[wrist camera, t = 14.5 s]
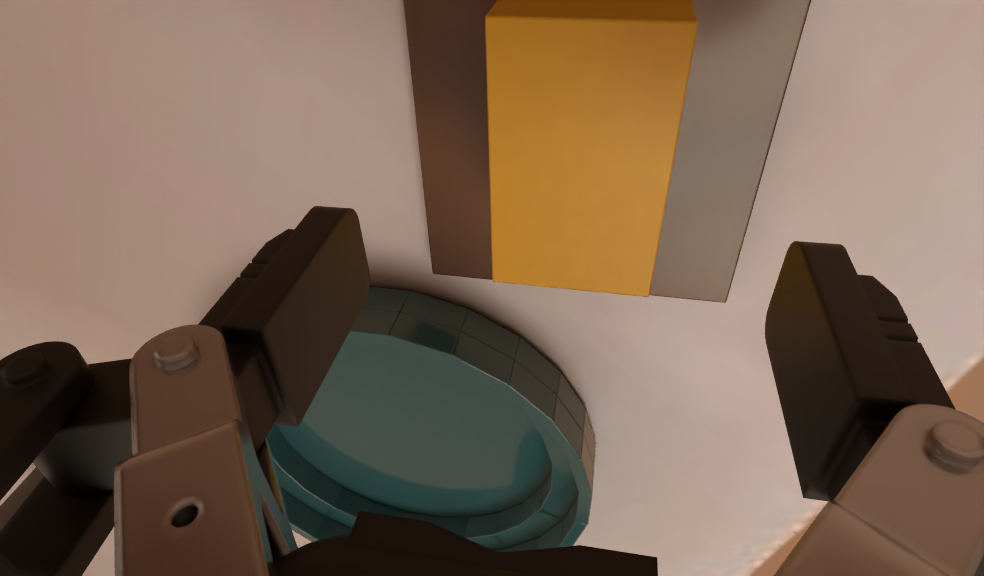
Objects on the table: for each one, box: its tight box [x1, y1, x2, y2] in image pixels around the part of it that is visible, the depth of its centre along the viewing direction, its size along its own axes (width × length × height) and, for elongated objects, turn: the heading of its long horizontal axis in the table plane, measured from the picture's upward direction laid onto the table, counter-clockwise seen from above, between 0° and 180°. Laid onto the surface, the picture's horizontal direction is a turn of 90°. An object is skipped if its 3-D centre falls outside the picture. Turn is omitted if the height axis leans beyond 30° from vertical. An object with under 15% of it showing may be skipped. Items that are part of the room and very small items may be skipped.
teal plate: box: [266, 287, 596, 552], centre depth 30 cm, size 19×19×3 cm
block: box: [485, 0, 698, 297], centre depth 17 cm, size 8×5×4 cm, turn 2°
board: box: [404, 0, 811, 302], centre depth 19 cm, size 14×11×1 cm
